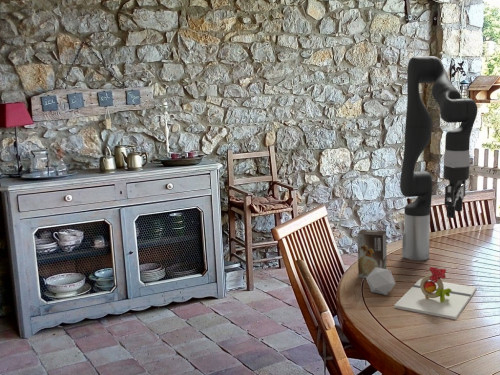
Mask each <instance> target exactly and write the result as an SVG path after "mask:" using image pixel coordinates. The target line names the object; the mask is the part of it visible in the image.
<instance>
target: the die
mask: <svg viewBox="0 0 500 375" xmlns="http://www.w3.org/2000/svg"><path fill="white" fill-rule="evenodd" d="M365 279H366V282H367V285H368V287H369V288H370V289H369V290H370V292H371V293H373V294H378V295H379V294H380V295H384V296H387V295H388V294H389V293H390V292H391V291H392V289H393V288H394V287H395V286H396V281H395V279H394V276H393V274H392V271H391V269H388V268H387V269H383V268H377V267H375V268H374V269H373V271H372V272H371V273H370V274H369V275H368V277H367V278H365Z"/></svg>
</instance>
